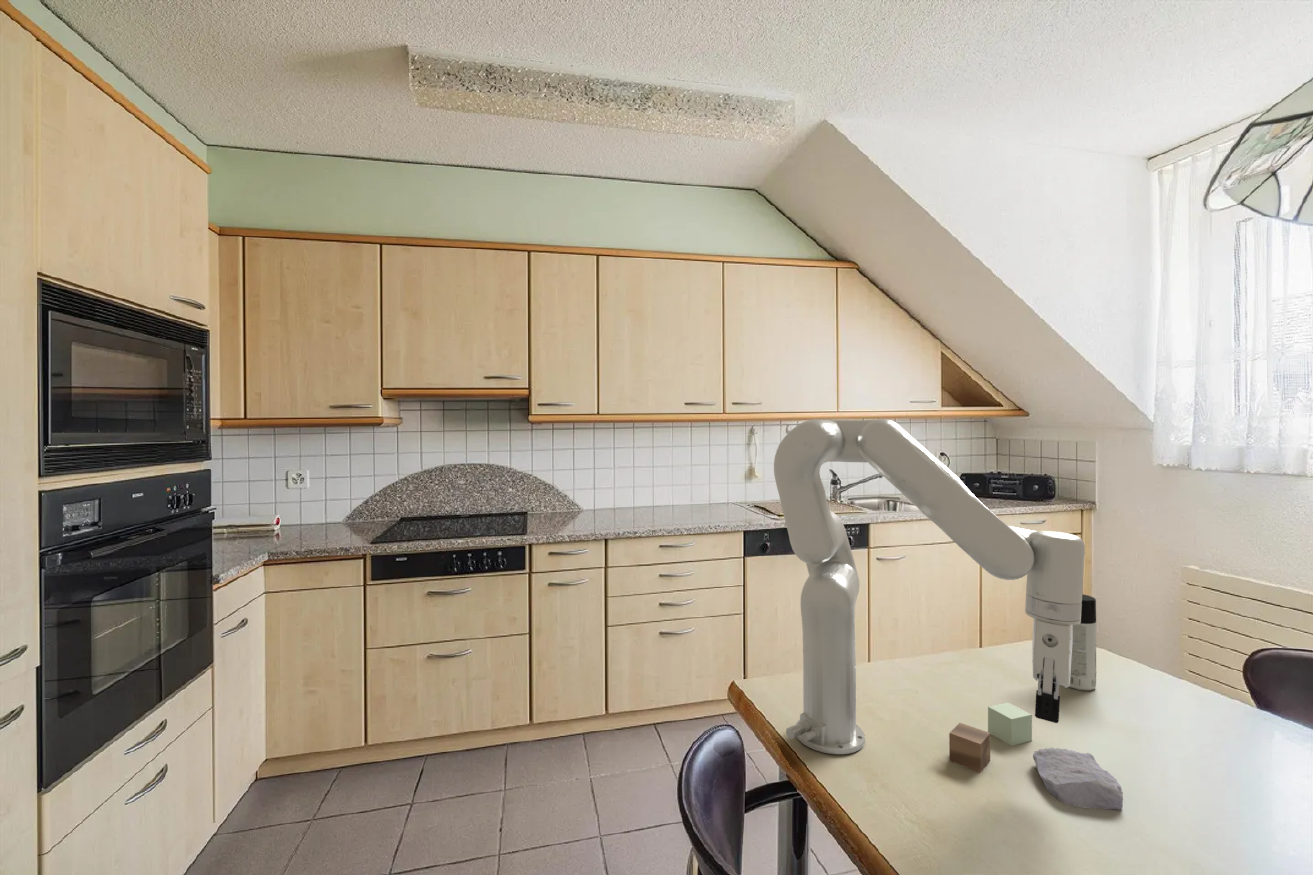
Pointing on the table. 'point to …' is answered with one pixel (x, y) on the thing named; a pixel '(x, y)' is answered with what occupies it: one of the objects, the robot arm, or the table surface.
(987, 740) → the walnut block
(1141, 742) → the table surface
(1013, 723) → the sage block
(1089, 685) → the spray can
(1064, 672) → the robot arm
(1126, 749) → the table surface
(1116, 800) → the stone block
